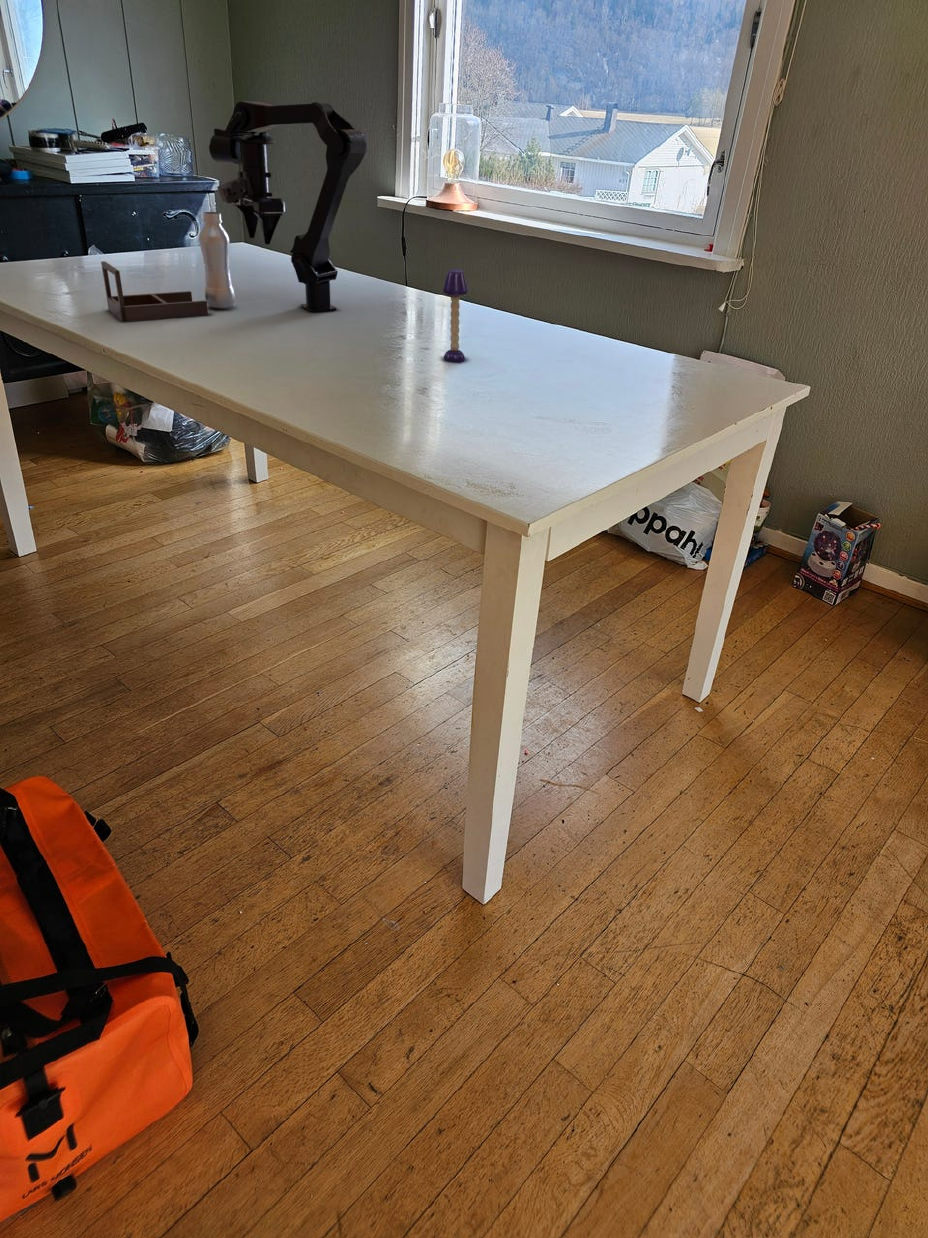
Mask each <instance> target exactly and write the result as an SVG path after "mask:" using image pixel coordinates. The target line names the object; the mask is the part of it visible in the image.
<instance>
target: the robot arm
mask: <svg viewBox="0 0 928 1238" xmlns="http://www.w3.org/2000/svg"><path fill="white" fill-rule="evenodd" d="M306 124H307V125H308V124H312V125H313V126H314V127H315V129H316V132H317V134H318V136H319V138H320V140H321V141H322V142H323V143H324V144H325V146H326V150H325V162H326V172H325V176H324V179H323V182H322V185H321V188H320V191H319V194H318V197H317V201H316V203H315V207H314V210H313V212H312V216H311V219H310V222H309V225H308V229H307V231H306V233H303V234H299V235H295V238H294V240H293V245H292V248H291V250H290V251H289V253H290V254H291V255H290V256H291V257H290V262H291V264H292V266H293V268H294V272H295V276H296V277H297V281H298V283H299V284H301V283H302V284H304V287H305V303H300V307H301V308H303V309H305V310H307V311H309V312H310V313H311V312H312V313H318V312H326V311H327V312H330V311H337V307H336V306H333V305H331V281H335V280H336V279H337V276H338V272H339V271H338V269H337V268H336V267H335V265H334V264H333V262H332V261H331V260H330V259H329V258H330V253H331V250H330V242H329V238H330V235H331V232H332V228H333V226H334V223H335V220H336V216H337V214H338V210H339V208H340V205H341V202H342V200H343V197H344V193H345V191H346V187H347V184H348V182H349V179H350V177H351V176H352V175H353V174H354V172H355V171H357V169H358V168H359V167H360V165H361V163H362V161H363V160H364V157H365V156H366V153H367V152H368V151H367V150H368V143H367V140H366V138H365V137H366V136H364V134H363V133H362V132H361V131H360V130H358V129H356V128H355V127H354V126H353V124H352V123H351V122H349V121H348V120H347V119H346V118H344V117H343V116H342V115H341V114H340V113H338V111H336V110H335V108H334V106H332V105H331V104H330V103H328V102H325V101H313V102H311V103H298V104H297V103H296V104H295V103H294V104H279V105H278V104H277V105H274V104H271V103H267V102H264V101H263V102H262V101H250V100H249V101H248V100H247V101H246V100H244V101H242V100H240V101H237V102H236V103H235V105H234V107H233V111H232V115H231V117H230V119H229V121H228V124H227V125H226V127H225V128H220V127H219V128H216V127H215V128H214V129H213V135H212V136H211V138H210V141H209V145H208V149H209V150H208V151H209V154H210V157H211V158H212V160H213V161H215V162H216V163H224V164H230V165H231V164H232V165H240V164H241V165H240V166H241V167H240V168H241V169H239V170H238V172H237V178H234V179H232V180H231V179H230V180H229V181H227V182H225V183H222V184H220V185H217V186H216V189H217V191H218V194H219V196H220V198H221V201H222V202H223V203H226V204H232V206H233V207H234V208H235V209H236V210H237V211H238V212H239V213H240V214H241V217H242V219H243V222H244V226H245V228H246V231H247V235H248V238H249V239H255V236H256V233H257V228H258V222H260V227H261V233H262V239H263V243H264V245H266V246H267V245H270V244H271V242H272V238H273V236H274V234H275V231H276V228H277V226H278V223H279V221H280V220H281V217H282V216H283V215H284V213H285V212H286V202H285V201H284V200H283V199H282V198H281V197H279V196H278V197H277V196H273V192H271V191H270V187H269V179H271V178H272V172H270V171H268V170H269V169H268V154H267V145H269V146H270V145H271V146H272V145H275V141H274V139H272V138H271V137H270V135H269V134H268V132H266V131H268V130H269V131H270V130H273V129H275V128H276V127H278V126H283V125H284V126H285V125H287V126H288V125H306Z"/></svg>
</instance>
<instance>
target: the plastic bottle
mask: <svg viewBox="0 0 928 1238" xmlns="http://www.w3.org/2000/svg"><path fill="white" fill-rule="evenodd" d="M202 215H203V223H204V225H203V227H202V229H201V231H200V232H199V236H198V241H199V246H200V251H201V255H202V259H203V264H204V274H205V275H204V277H205V280H204V281H205V286H204V298H205V301H207V306H209V307H211V308H215V309H221V310H222V309H228V308H232V307H233V306H234V304H235V301H236V295H235V290H234V286H233V283H232V275H231V271H230V245H231V244H230V243H231V242H230V237H229V234H228V233H227V231H226V229H225V228H224V227H223V226H222V223H223V219H222V212H219V211H204V212H203V213H202Z"/></svg>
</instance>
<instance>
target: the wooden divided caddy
mask: <svg viewBox="0 0 928 1238" xmlns="http://www.w3.org/2000/svg"><path fill="white" fill-rule="evenodd" d="M100 264H101V265H100V266H101V270H102V278H103V283H104V289H105V296H106V302H107V309H108V312H110V313H111V314H112V315H114V317H116V318H117V319H119V320H120V321H121V322H122V323H127V322H138V321H152V320H153V321H154V320H165V319H175V318H176V319H177V318H186V317H187V318H188V317H189V318H191V317H200V316H201V317H202V316H209V310H208V304H207V301H206V299H205V300H193V296H192V291H191V290H188V291H187V290H185V291H184V290H183V291H172V292H171V291H170V292H169V291H168V292H156V293H155V292H154V293H153V292H152V293H141V294H140V293H139V294H125V295H124V294H123V293H124V292H123V285H122V280H121V273H120V270H119V269H118V268H116V267H114V266H113V265H111V264H110V263H108V262H107V261H105V260H104V261H100ZM109 273H110V274H112V275H113V276H114V279H115V287H116V293H117V294H116V295H112V291H111V284H110V278H109Z"/></svg>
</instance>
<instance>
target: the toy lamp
mask: <svg viewBox="0 0 928 1238" xmlns="http://www.w3.org/2000/svg"><path fill="white" fill-rule="evenodd" d="M442 291H443V292H442V293H443V294H445V295H448V296H450V300H451V302H450V309H451V310H450V321H449V323H450V328H449V329H450V338H449V339H450V346H449V347H450V349H448V350H447V351H446V352H445V353H444V355H443V360H444V361H446V362H450V363H461V362H464V361H465V360H466V357H465V354H464V353H463V351H462V350H460V343H459V341H460V335H459V333H460V327H459V326H460V308H461V307H460V305H461V304H460V300H461V296H464V295H467V294H468V286H467V281H466V278H465V273H464V271H463V270H461V269H449V270H448V271H447V274H446V276H445V281H444V285H443V289H442Z"/></svg>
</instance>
